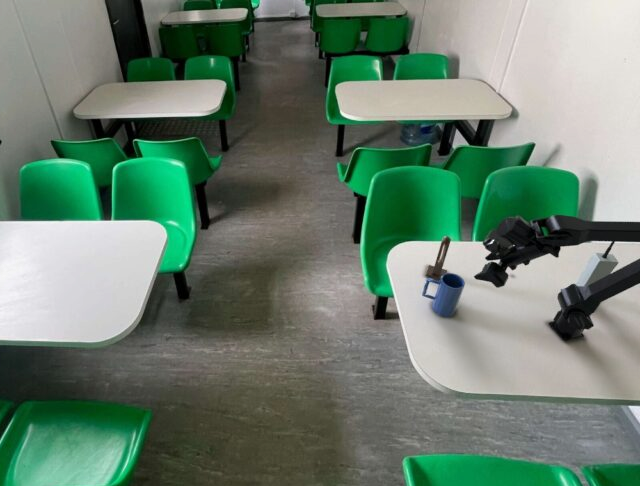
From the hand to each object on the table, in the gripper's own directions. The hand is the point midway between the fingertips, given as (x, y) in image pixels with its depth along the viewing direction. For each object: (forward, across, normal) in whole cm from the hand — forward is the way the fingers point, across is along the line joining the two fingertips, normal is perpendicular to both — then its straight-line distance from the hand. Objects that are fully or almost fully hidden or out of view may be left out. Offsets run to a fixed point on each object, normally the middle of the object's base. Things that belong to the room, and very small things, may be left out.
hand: (480, 268), depth 125 cm
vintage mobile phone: (-2, -23, +31) cm, 38 cm away
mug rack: (+18, +1, -2) cm, 18 cm away
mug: (+14, +10, +2) cm, 18 cm away
